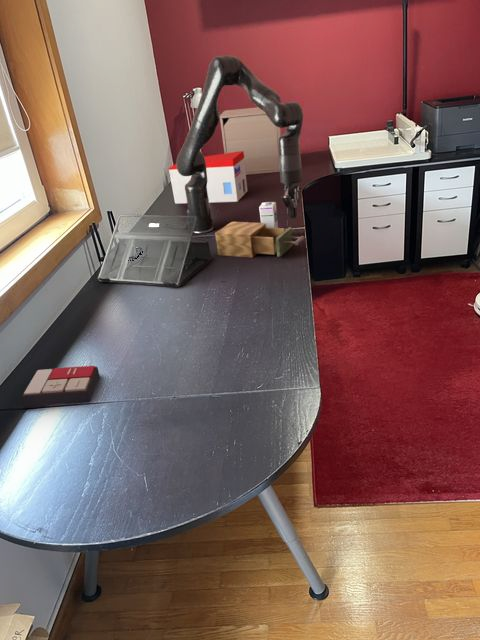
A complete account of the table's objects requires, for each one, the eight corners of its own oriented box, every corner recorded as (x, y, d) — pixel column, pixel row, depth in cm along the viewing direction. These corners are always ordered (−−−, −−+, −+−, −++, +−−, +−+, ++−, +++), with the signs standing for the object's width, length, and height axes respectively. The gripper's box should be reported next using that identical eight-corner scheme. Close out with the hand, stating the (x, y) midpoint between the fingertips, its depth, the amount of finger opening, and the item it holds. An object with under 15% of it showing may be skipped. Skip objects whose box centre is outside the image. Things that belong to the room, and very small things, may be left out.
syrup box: (276, 242, 201) (273, 205, 194) (262, 242, 203) (258, 206, 195) (279, 237, 206) (276, 201, 199) (265, 237, 207) (261, 202, 200)
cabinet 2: (267, 245, 199) (265, 223, 195) (252, 257, 189) (250, 234, 184) (234, 242, 205) (232, 221, 201) (218, 255, 195) (215, 232, 190)
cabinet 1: (226, 176, 315) (219, 116, 298) (231, 166, 340) (224, 110, 323) (282, 171, 312) (278, 110, 295) (283, 162, 337) (279, 105, 320)
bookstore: (238, 201, 260) (233, 159, 250) (175, 203, 269) (167, 162, 258) (248, 191, 277) (243, 150, 267) (188, 193, 286) (182, 154, 275)
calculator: (86, 388, 116) (20, 393, 116) (90, 404, 118) (25, 408, 118) (97, 363, 125) (36, 367, 125) (100, 377, 128) (40, 381, 127)
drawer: (308, 246, 191) (307, 228, 188) (295, 258, 182) (294, 239, 178) (261, 242, 199) (259, 225, 196) (246, 254, 190) (244, 236, 186)
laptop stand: (96, 283, 181) (82, 233, 172) (138, 255, 203) (128, 209, 194) (177, 289, 170) (167, 236, 161) (212, 258, 192) (205, 210, 183)
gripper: (287, 163, 179) (290, 211, 188) (272, 171, 169) (276, 222, 178) (307, 163, 176) (309, 212, 185) (293, 172, 166) (296, 224, 175)
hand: (293, 217), depth 181 cm, fingers closed
